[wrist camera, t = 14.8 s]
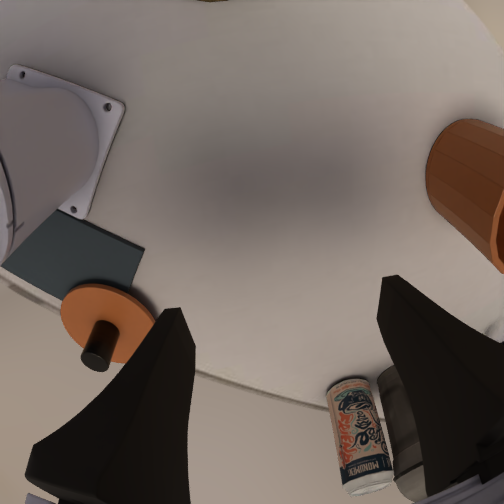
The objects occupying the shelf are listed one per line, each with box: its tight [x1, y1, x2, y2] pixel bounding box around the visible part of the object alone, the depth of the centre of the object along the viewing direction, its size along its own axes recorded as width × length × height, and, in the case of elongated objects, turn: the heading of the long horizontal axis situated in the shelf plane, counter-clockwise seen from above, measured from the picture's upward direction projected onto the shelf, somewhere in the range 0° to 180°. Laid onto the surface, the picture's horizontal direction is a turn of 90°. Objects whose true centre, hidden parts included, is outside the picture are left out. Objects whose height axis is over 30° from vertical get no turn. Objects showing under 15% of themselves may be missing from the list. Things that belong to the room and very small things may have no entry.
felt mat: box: [1, 209, 145, 301], centre depth 19 cm, size 15×8×1 cm, turn 60°
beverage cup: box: [377, 365, 428, 502], centre depth 21 cm, size 7×7×20 cm
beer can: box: [326, 379, 394, 496], centre depth 24 cm, size 5×5×12 cm
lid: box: [61, 284, 155, 372], centre depth 21 cm, size 8×8×4 cm
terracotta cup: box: [426, 119, 504, 274], centre depth 14 cm, size 8×8×7 cm
